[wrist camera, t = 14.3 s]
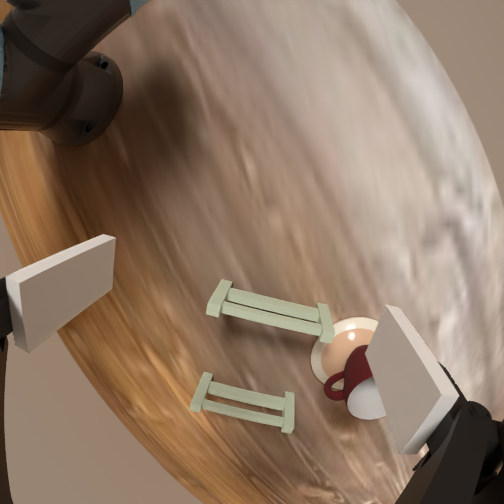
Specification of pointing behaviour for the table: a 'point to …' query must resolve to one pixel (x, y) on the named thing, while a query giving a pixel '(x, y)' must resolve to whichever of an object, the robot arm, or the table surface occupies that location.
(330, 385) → the mug
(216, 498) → the table surface
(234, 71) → the table surface
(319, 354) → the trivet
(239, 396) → the cradle
